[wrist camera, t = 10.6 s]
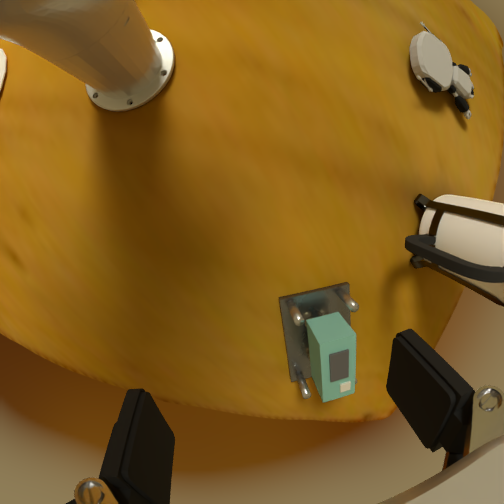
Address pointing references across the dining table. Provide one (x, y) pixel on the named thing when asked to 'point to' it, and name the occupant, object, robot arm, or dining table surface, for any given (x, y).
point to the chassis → (295, 326)
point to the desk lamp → (2, 67)
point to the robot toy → (440, 69)
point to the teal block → (332, 355)
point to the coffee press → (462, 242)
